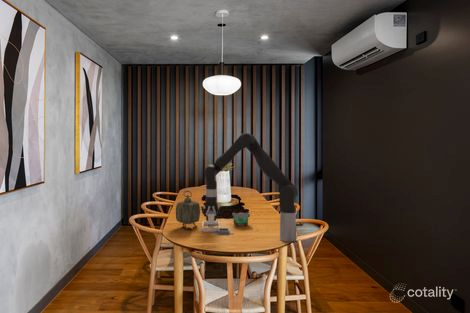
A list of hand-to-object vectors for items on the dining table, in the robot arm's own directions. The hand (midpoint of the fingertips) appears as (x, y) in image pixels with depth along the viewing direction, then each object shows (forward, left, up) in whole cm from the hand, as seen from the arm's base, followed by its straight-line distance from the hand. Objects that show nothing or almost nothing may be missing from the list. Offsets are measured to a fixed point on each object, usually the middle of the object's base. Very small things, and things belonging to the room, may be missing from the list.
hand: (211, 221), depth 224 cm
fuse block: (-8, +12, -6) cm, 15 cm away
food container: (-21, -5, -6) cm, 22 cm away
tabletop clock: (+16, -4, -6) cm, 17 cm away
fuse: (0, 0, -3) cm, 3 cm away
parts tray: (0, 0, -6) cm, 6 cm away
